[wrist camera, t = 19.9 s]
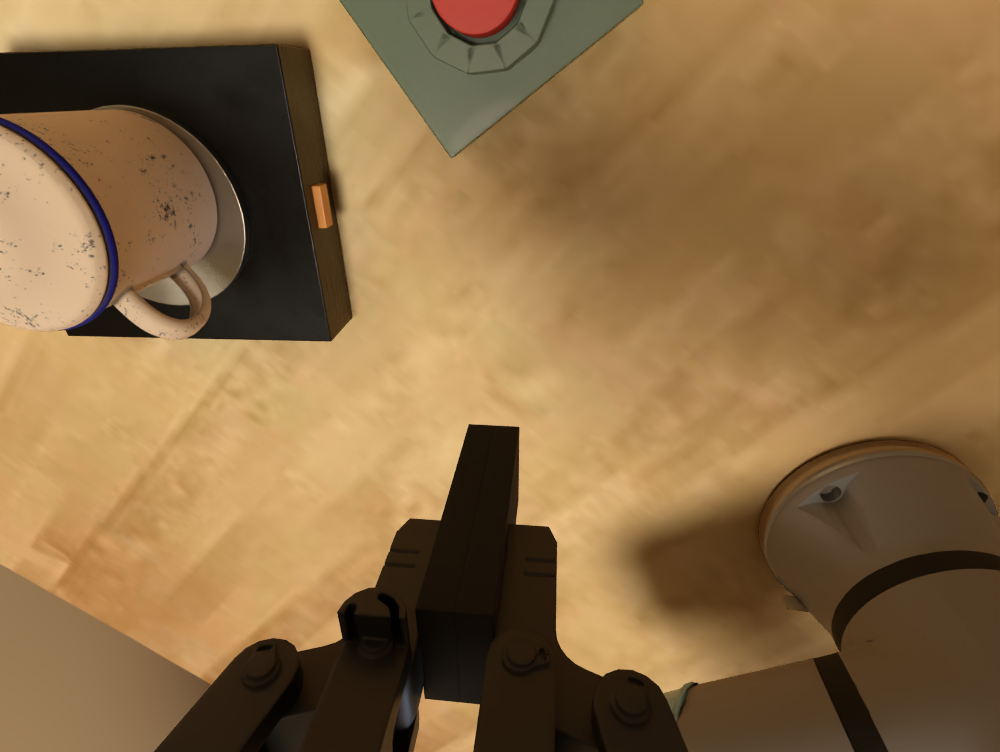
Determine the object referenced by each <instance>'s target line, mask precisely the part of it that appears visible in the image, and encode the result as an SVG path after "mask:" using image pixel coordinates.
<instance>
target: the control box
mask: <svg viewBox="0 0 1000 752" xmlns="http://www.w3.org/2000/svg"><path fill="white" fill-rule="evenodd" d="M340 2H341V3H342V5H343V6H344V7H345V9H346V10H347V12H348V13H349V14H350V16H351V17H352V19H353V20H354V22H355V23H356V24H357V26H358V27H359V29H360V30H361V31H362V33H363V34H364V36H365V37H366V39H367V40H368V41H369V43H370V44H371V46H372V47H373V48H374V50H375V51H376V53H377V54H378V55H379V57H380V58H381V60H382V61H383V63H384V64H385V65H386V67H387V68H388V70H389V71H390V72H391V74H392V75H393V77H394V78H395V80H396V81H397V82H398V84H399V85H400V87H401V88H402V89H403V91H404V92H405V94H406V95H407V96H408V98H409V99H410V101H411V102H412V104H413V105H414V106H415V108H416V109H417V111H418V112H419V113H420V115H421V116H422V118H423V119H424V121H425V122H426V123H427V125H428V126H429V128H430V129H431V130H432V132H433V133H434V135H435V136H436V138H437V139H438V140H439V142H440V143H441V145H442V146H443V147H444V149H445V150H446V152H447V153H448V154H449V156H450V157H451V158H453V157H454V156H456V155H457V154H459V153H460V152H461V151H462V150H464V149H465V148H466V147H467V146H469V145H470V144H471V143H472V142H474V141H475V140H476V139H477V138H478V137H480V136H481V135H482V134H483V133H485V132H486V131H487V130H488V129H490V128H491V127H492V126H493V125H495V124H496V123H497V122H498V121H500V120H501V119H502V118H503V117H505V116H506V115H507V114H508V113H509V112H511V111H512V110H513V109H514V108H516V107H517V106H518V105H519V104H521V103H522V102H523V101H524V100H526V99H527V98H528V97H529V96H531V95H532V94H533V93H534V92H536V91H537V90H538V89H539V88H540V87H542V86H543V85H544V84H545V83H547V82H548V81H549V80H550V79H552V78H553V77H554V76H555V75H557V74H558V73H559V72H560V71H562V70H563V69H564V68H565V67H567V66H568V65H569V64H570V63H572V62H573V61H574V60H575V59H576V58H578V57H579V56H580V55H581V54H583V53H584V52H585V51H586V50H588V49H589V48H590V47H591V46H593V45H594V44H595V43H596V42H598V41H599V40H600V39H601V38H603V37H604V36H605V35H606V34H607V33H609V32H610V31H611V30H612V29H614V28H615V27H616V26H617V25H619V24H620V23H621V22H622V21H624V20H625V19H626V18H627V17H629V16H630V15H631V14H632V13H634V12H635V11H636V10H637V9H638V8H639V7H640V6H641V5H642V4H643V0H520V3H519V6H518V9H517V11H516V13H515V15H514V17H513V18H512V20H511V21H510V22H509V24H508V25H507V26H506V27H505V28H504V29H502V30H501V31H500V32H498V33H496V34H495V35H492V36H489V37H485V38H473V37H469V36H466V35H464V34H462V33H460V32H458V31H457V30H455V29H453V28H452V27H450V26H449V25H448V24H447V23H446V22H445V21H444V20H443V19H442V18H441V16H440V15H439V13H438V12H437V10H436V8H435V6H434V4H433V1H432V0H340Z"/></svg>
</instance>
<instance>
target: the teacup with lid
mask: <svg viewBox="0 0 1000 752" xmlns="http://www.w3.org/2000/svg"><path fill="white" fill-rule="evenodd" d="M216 228H217V206H216V201H215V196H214V193H213V189H212V187H211V184H210V181H209V179H208V177H207V175H206V173H205V171H204V169H203V167H202V166H201V164H200V163H199V161H198V160H197V158H196V157H195V156H194V154H193V153H192V152H191V150H190V149H189V148H188V147H187V146H186V145H185V144H184V143H183V142H182V141H181V140H180V139H179V138H178V137H177V136H176V135H174V134H173V133H172V132H171V131H169V130H168V129H167V128H165V127H164V126H162V125H161V124H159V123H157V122H156V121H154V120H152V119H150V118H148V117H145V116H143V115H140V114H137V113H134V112H130V111H125V110H117V109H106V110H84V111H62V112H40V113H18V114H0V323H2V324H5V325H8V326H12V327H15V328H20V329H25V330H32V331H61V330H69V329H73V328H77V327H80V326H83V325H85V324H87V323H89V322H91V321H92V320H94V319H95V318H97V317H98V316H99V315H100V314H101V313H102V312H103V311H104V310H105V309H106V308H107V307H109V306H111V305H114V306H115V307H116V308H117V309H118V310H119V311H120V312H121V313H122V314H123V315H125V316H126V317H127V318H128V319H129V320H130V321H131V322H133V323H134V324H135V325H137V326H138V327H139V328H141V329H143V330H144V331H146V332H148V333H150V334H152V335H155V336H157V337H161V338H165V339H170V340H181V339H185V338H188V337H190V336H192V335H194V334H195V333H196V332H198V331H199V330H200V329H201V328H202V327H203V326H204V325H205V323H206V322H207V320H208V318H209V316H210V312H211V298H210V295H209V292H208V290H207V288H206V286H205V284H204V283H203V281H202V280H201V279H200V278H199V276H198V275H197V274H196V273H195V272H194V271H193V270H192V268H191V266H193V265H194V264H196V263H197V262H198V261H199V260H200V259H202V258H203V256H204V255H205V254H206V253H207V251H208V250H209V248H210V246H211V244H212V242H213V239H214V236H215V233H216ZM167 278H170V279H171V280H172V281H173V282H174V283H175V284H176V285H177V286H178V287H179V288H180V289H181V290H182V292H183V293H184V294H185V296H186V297H187V299H188V301H189V304H190V317H189V319H184V320H181V319H176V318H172V317H169V316H167V315H165V314H163V313H161V312H159V311H158V310H156V309H155V308H154V307H152V306H151V305H150V304H149V303H148V302H146V301H145V300H144V299H143V298H142V297H141V296H140V295H139V294H138V292H140V291H142V290H144V289H146V288H148V287H150V286H152V285H154V284H156V283H158V282H160V281H162V280H164V279H167Z"/></svg>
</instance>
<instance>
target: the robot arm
mask: <svg viewBox="0 0 1000 752" xmlns="http://www.w3.org/2000/svg"><path fill="white" fill-rule="evenodd" d="M518 486H519V427H510V426H491V425H472V424H469V426H468V429H467V433H466V436H465V440H464V443H463V447H462V450H461V453H460V457H459V460H458V464H457V467H456V471H455V474H454V477H453V481H452V484H451V488H450V491H449V495H448V498H447V501H446V505H445V508H444V512H443V515H442V519H441V521H439V520H425V519H409V520H408V521H407V522H406V523H405V524H404V525H403V526H402V527H401V528H400V529H399V530H398V531H397V532H396V535H395V537H394V540H393V543H392V545H391V548H390V552H389V553H388V556H387V558H386V561H385V566H383V568H382V571H381V574H380V576H379V579H378V581H377V584H376V587H375V588H368V589H365V590H362V591H360V592H357V593H355V594H354V595H352V596H351V597H350V598H349V599H347V600H346V601H345V602H344V603H343V605H342V606H341V608H340V609H339V610H338V612H337V613H338V618H339V623H340V628H341V633H342V638H343V639H341V640H339V641H337V642H336V643H333V644H330V645H326V646H323V647H318V648H313V649H309V650H304V651H299V652H297V650H296V648H295V646H294V645H293V644H291V643H290V642H288V641H287V640H283V639H275V638H272V639H267V640H263V641H259V642H257V643H255V644H253V645H251V646H249V647H247V648H246V649H244V650H243V651H242V652H241V653H240V654H239V655H238V656H237V657H235V658H234V659H233V661H232V662H231V663H230V664H229V665H228V666H227V668H226V669H225V670H224V671H223V672H222V673H221V675H220V676H219V677H218V678H217V679H216V680H215V681H214V683H213V684H212V685H211V686H210V687H209V688H208V690H207V691H206V692H205V693H204V694H203V695H202V697H201V698H200V699H199V700H198V701H197V702H196V704H195V705H194V706H193V707H192V708H191V709H190V711H189V712H188V713H187V714H186V715H185V716H184V718H183V719H182V720H181V721H180V722H179V723H178V725H177V726H176V727H175V728H174V729H173V730H172V731H171V733H170V734H169V735H168V736H167V737H166V738H165V740H164V741H163V742H162V743H161V744H160V745H159V746H158V748H157V749H156V750H155V751H154V752H413V751H414V747H415V742H416V738H417V734H418V729H419V710H418V706H419V702H420V698H421V694H422V690H423V686H424V695H425V699H433V700H443V701H453V702H463V703H473V704H480V709H479V716H478V723H477V730H476V737H475V744H474V751H473V752H1000V519H999V517H998V513H997V510H996V507H995V505H994V502H993V500H992V498H991V496H990V494H989V492H988V490H987V489H986V487H985V486H984V484H983V483H982V482H981V481H980V480H979V479H978V478H977V477H976V476H975V475H974V474H973V473H971V472H970V471H969V470H968V469H967V468H966V467H965V466H964V465H963V464H962V463H961V462H959V461H958V460H957V459H956V458H954V457H953V456H951V455H949V454H948V453H946V452H944V451H942V450H940V449H937V448H935V447H932V446H929V445H925V444H921V443H916V442H910V441H899V440H883V441H872V442H865V443H859V444H855V445H850V446H847V447H844V448H840V449H837V450H834V451H832V452H829V453H827V454H824V455H822V456H820V457H818V458H816V459H814V460H812V461H810V462H809V463H807V464H805V465H804V466H802V467H801V468H799V469H798V470H796V471H795V472H794V473H792V474H791V475H790V476H789V477H788V478H787V479H785V480H784V481H783V482H782V483H781V484H780V485H779V487H778V488H777V489H776V490H775V491H774V493H773V494H772V495H771V497H770V498H769V500H768V501H767V503H766V505H765V507H764V509H763V512H762V515H761V518H760V523H759V541H760V545H761V548H762V551H763V553H764V556H765V558H766V560H767V562H768V564H769V567H770V569H771V571H772V573H773V574H774V576H775V577H776V578H777V580H778V581H779V582H780V583H781V584H782V585H783V586H784V587H785V588H786V589H787V590H788V591H789V592H790V593H791V594H793V595H794V596H795V597H793V596H787V595H782V598H783V600H784V602H785V604H786V607H787V609H792V610H798V611H805V612H810V613H811V614H812V615H813V617H814V618H815V619H816V620H817V621H818V622H819V623H820V624H821V625H822V626H823V627H824V628H825V629H826V630H827V631H828V632H829V633H830V634H831V636H832V638H833V639H834V641H835V644H836V646H837V648H838V650H839V652H838V653H835V654H831V655H826V656H822V657H818V658H814V659H813V658H812V659H808V660H803V661H799V662H795V663H790V664H786V665H781V666H777V667H773V668H768V669H764V670H760V671H755V672H751V673H747V674H742V675H738V676H733V677H729V678H725V679H720V680H716V681H712V682H707V683H703V684H698V683H694V682H690V683H687V684H685V685H684V686H683V687H682V688H681V689H677V690H674V691H671V692H667V693H664V694H663V692H662V691H661V689H660V688H659V686H658V685H657V684H655V683H654V682H653V681H652V680H651V679H650V678H648V677H647V676H645V675H643V674H641V673H638V672H636V671H633V670H620V669H618V670H615V671H612V672H610V673H607V674H605V675H604V676H603V677H602V676H600V675H597V674H595V673H593V672H590V671H588V670H586V669H584V668H582V667H580V666H578V665H576V664H575V663H574V662H572V661H571V660H570V659H569V658H568V657H567V656H566V655H565V653H564V652H563V651H562V649H561V648H560V645H559V643H558V641H557V636H556V575H557V542H556V540H555V538H554V536H553V534H552V532H551V530H550V528H549V527H544V526H529V525H516V516H517V507H518Z"/></svg>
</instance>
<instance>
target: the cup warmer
mask: <svg viewBox="0 0 1000 752" xmlns="http://www.w3.org/2000/svg"><path fill="white" fill-rule="evenodd" d="M106 109H117V110H125V111H130V112H134V113H137V114H140V115H143V116H145V117H148V118H150V119H152V120H154V121H156V122H157V123H159V124H161V125H162V126H164V127H165V128H167V129H168V130H169V131H171V132H172V133H173V134H174V135H176V136H177V137H178V138H179V139H180V140H181V141H182V142H183V143H184V144H185V145H186V146H187V147H188V148H189V149H190V150H191V152H192V153H193V154H194V156H195V157H196V158H197V160H198V161H199V163H200V164H201V166H202V167H203V169H204V171H205V173H206V175H207V177H208V179H209V181H210V184H211V187H212V189H213V193H214V196H215V201H216V206H217V228H216V233H215V236H214V239H213V242H212V244H211V246H210V248H209V250H208V251H207V253H206V254H205V255H204V256H203V258H202V259H200V260H199V261H198V262H197V263H196V264H194V265H193V266H191V268H192V270H193V271H194V272H195V273H196V274H197V275H198V276H199V278H200V279H201V280H202V281H203V283H204V284H205V286H206V288H207V290H208V292H209V295H210V298H211V312H210V316H209V318H208V320H207V322H206V323H205V325H204V326H203V327H202V328H201V329H200V330H199V331H198V332H196V333H195V334H194V335H192V336H190V337H188V338H197V339H244V340H291V341H332V340H333V339H334V337H335V336H336V335H337V334H338V333H339V332H340V331H341V330H342V329H343V327H344V326H345V325H346V324H347V323H348V322H349V321H350V320H351V319H352V314H351V308H350V302H349V296H348V289H347V283H346V277H345V270H344V264H343V258H342V252H341V245H340V239H339V233H338V226H337V220H336V214H335V208H334V201H333V195H332V189H331V182H330V176H329V170H328V164H327V157H326V151H325V145H324V138H323V132H322V126H321V120H320V113H319V107H318V101H317V94H316V88H315V82H314V76H313V69H312V63H311V57H310V51H309V49H304V48H298V47H292V46H285V45H279V44H260V45H228V46H196V47H164V48H132V49H100V50H69V51H37V52H5V53H0V114H18V113H40V112H62V111H84V110H106ZM138 294H139V295H140V296H141V297H142V298H143V299H144V300H145V301H146V302H148V303H149V304H150V305H151V306H152V307H154V308H155V309H156V310H158V311H159V312H161V313H163V314H165V315H167V316H169V317H172V318H176V319H181V320H184V319H189V317H190V304H189V301H188V299H187V297H186V296H185V294H184V293H183V292H182V290H181V289H180V288H179V287H178V286H177V285H176V284H175V283H174V282H173V281H172V280H171V279H170V278H167V279H164V280H162V281H160V282H158V283H156V284H154V285H152V286H150V287H148V288H146V289H144V290H142V291H140V292H138ZM66 332H67V334H68V336H103V337H150V338H161V337H157V336H155V335H152V334H150V333H148V332H146V331H144V330H143V329H141V328H139V327H138V326H137V325H135V324H134V323H133V322H131V321H130V320H129V319H128V318H127V317H126V316H125V315H123V314H122V313H121V312H120V311H119V310H118V309H117V308H116V307H115V306H114V305H111V306H109V307H107V308H106V309H105V310H104V311H103V312H102V313H101V314H100V315H99V316H98V317H97V318H95V319H94V320H92V321H91V322H89V323H87V324H85V325H83V326H80V327H77V328H73V329H69V330H66Z"/></svg>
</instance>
